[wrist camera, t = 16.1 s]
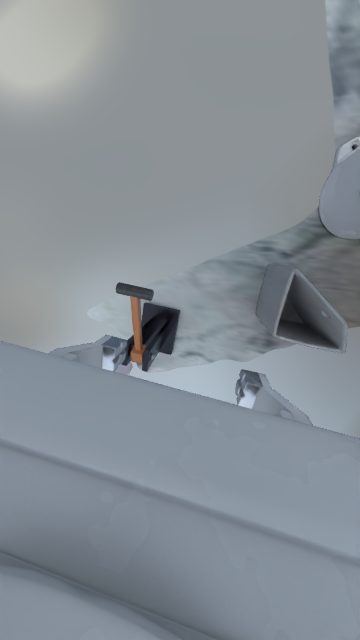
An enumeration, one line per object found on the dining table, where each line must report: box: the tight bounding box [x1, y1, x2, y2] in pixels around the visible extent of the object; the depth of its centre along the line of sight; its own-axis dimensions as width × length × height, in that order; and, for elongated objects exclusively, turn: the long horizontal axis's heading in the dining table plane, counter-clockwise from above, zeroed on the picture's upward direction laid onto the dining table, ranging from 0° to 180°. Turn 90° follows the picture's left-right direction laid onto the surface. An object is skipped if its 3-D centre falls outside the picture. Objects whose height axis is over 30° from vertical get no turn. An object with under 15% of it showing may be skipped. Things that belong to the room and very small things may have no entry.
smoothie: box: [115, 362, 132, 375], centre depth 48 cm, size 6×6×14 cm
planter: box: [256, 265, 348, 354], centre depth 34 cm, size 16×8×19 cm, turn 36°
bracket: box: [122, 303, 180, 371], centre depth 42 cm, size 12×9×16 cm
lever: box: [116, 283, 154, 364], centre depth 31 cm, size 16×5×2 cm, turn 170°
